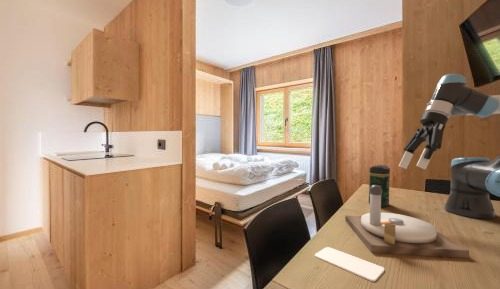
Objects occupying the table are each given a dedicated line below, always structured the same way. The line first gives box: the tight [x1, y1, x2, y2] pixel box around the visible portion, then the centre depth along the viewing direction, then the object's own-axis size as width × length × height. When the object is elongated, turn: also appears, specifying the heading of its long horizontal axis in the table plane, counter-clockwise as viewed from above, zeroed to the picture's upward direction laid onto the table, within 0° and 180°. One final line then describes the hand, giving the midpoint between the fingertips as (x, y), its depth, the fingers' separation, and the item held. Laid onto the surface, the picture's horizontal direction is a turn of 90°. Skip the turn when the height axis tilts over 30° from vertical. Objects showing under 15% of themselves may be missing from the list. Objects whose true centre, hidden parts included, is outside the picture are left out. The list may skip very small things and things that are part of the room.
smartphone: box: [314, 246, 385, 283], centre depth 57 cm, size 7×1×15 cm
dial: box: [360, 185, 438, 243], centre depth 72 cm, size 20×20×14 cm
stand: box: [344, 215, 470, 259], centre depth 72 cm, size 24×24×7 cm
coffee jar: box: [368, 164, 391, 208], centre depth 107 cm, size 10×8×19 cm
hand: (410, 167), depth 83 cm, fingers open, 13 cm apart
